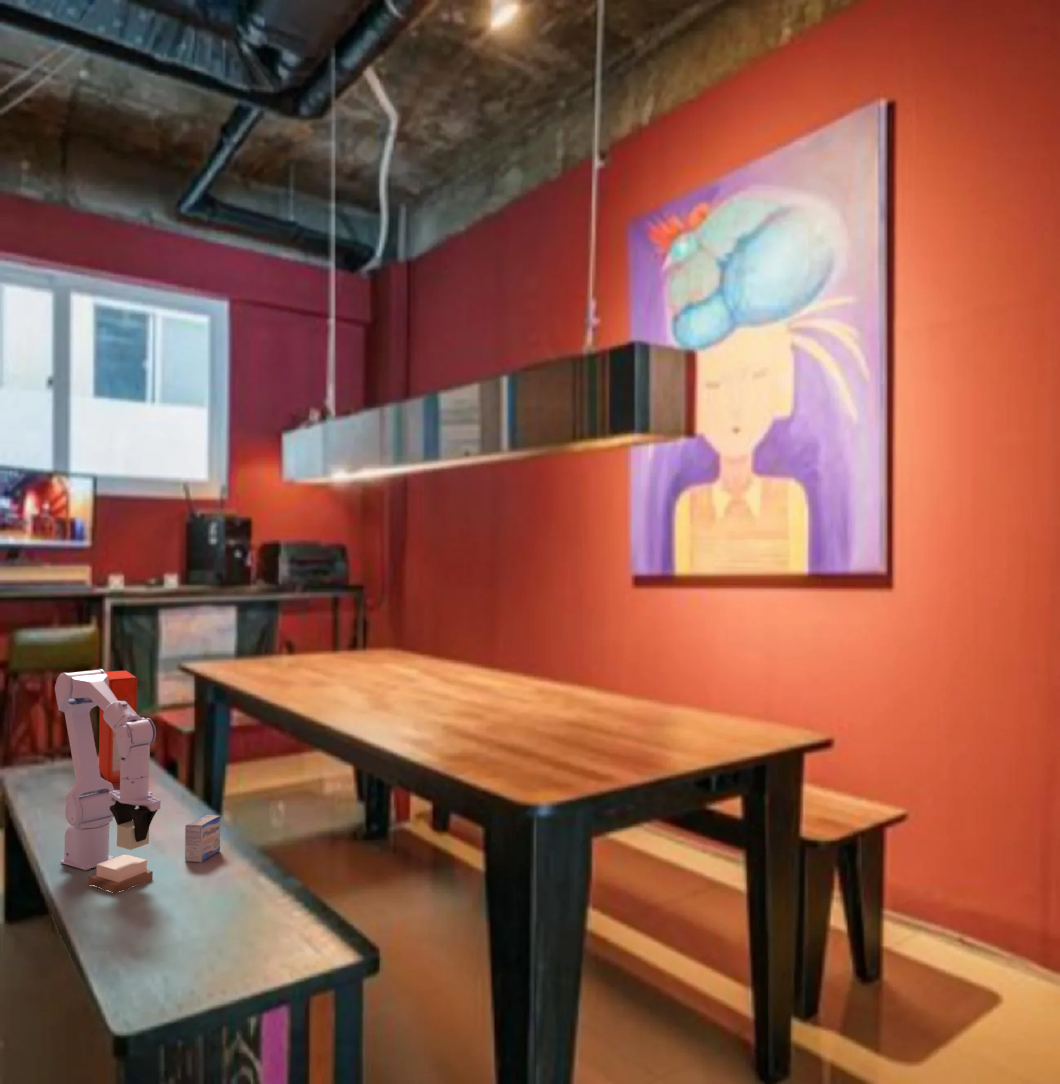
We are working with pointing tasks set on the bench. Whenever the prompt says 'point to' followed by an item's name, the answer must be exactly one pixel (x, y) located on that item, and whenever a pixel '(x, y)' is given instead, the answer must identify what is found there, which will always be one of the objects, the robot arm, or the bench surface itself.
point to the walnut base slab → (121, 885)
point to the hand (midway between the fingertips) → (133, 838)
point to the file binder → (108, 748)
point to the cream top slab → (121, 868)
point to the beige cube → (129, 836)
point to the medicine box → (202, 838)
